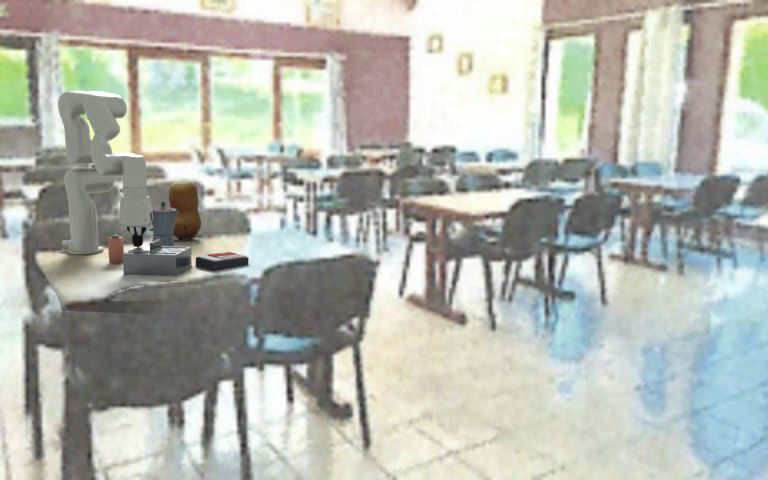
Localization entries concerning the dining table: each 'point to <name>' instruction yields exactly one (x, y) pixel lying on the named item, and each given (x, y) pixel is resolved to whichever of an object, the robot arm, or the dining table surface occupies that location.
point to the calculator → (221, 261)
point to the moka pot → (164, 224)
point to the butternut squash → (185, 209)
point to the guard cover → (149, 246)
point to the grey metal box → (158, 261)
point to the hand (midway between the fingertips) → (138, 246)
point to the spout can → (115, 249)
